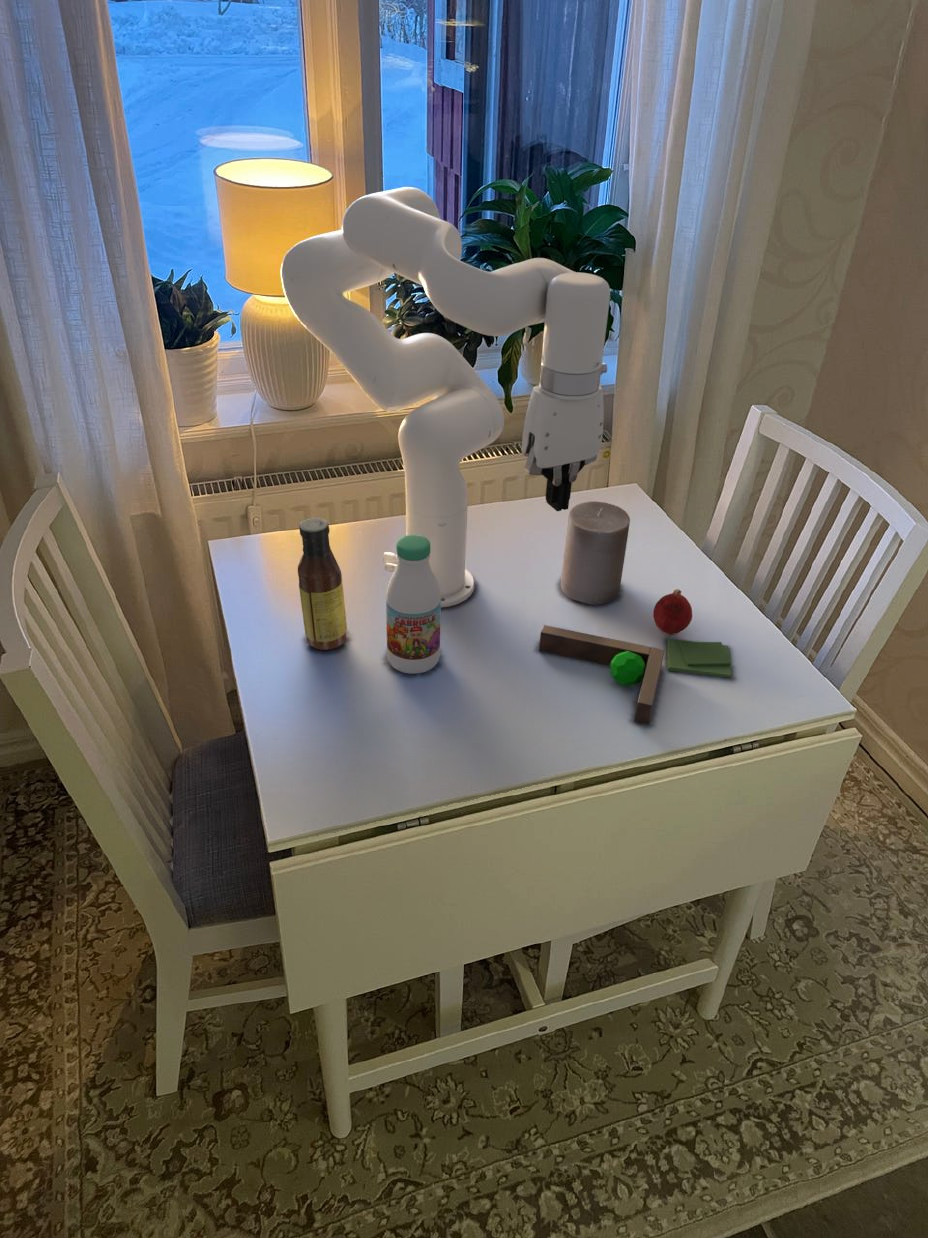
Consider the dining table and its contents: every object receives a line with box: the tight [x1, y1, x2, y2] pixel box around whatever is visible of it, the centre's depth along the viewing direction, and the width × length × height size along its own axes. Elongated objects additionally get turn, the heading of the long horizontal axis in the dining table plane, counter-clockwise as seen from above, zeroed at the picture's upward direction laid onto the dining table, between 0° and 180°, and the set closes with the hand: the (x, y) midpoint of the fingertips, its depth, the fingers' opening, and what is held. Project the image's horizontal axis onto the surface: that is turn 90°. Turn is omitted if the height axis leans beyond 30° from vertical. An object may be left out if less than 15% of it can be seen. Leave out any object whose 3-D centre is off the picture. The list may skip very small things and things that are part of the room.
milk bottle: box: [385, 534, 442, 675], centre depth 131 cm, size 8×8×20 cm
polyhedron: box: [609, 651, 645, 688], centre depth 133 cm, size 5×5×5 cm
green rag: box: [666, 638, 732, 679], centre depth 138 cm, size 9×7×1 cm
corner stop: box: [538, 624, 666, 725], centre depth 133 cm, size 18×13×4 cm
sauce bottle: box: [297, 517, 348, 651], centre depth 134 cm, size 7×6×20 cm
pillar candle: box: [560, 500, 631, 606], centre depth 149 cm, size 10×10×15 cm
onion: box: [652, 588, 693, 635], centre depth 141 cm, size 6×6×8 cm
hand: (556, 505), depth 128 cm, fingers closed
